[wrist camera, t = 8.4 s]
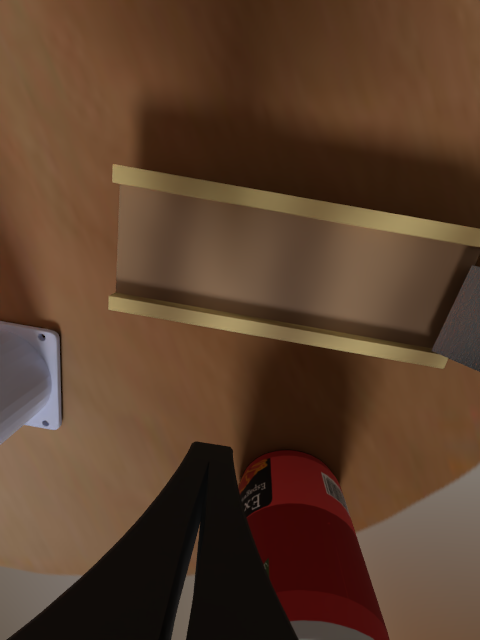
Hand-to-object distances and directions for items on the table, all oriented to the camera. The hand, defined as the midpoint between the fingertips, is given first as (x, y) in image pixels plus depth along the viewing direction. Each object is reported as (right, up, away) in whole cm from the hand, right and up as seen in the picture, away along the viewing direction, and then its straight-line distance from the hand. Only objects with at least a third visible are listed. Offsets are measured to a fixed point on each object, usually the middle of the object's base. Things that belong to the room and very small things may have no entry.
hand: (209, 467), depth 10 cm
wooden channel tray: (+4, +9, +8) cm, 12 cm away
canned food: (+5, -8, +13) cm, 16 cm away
